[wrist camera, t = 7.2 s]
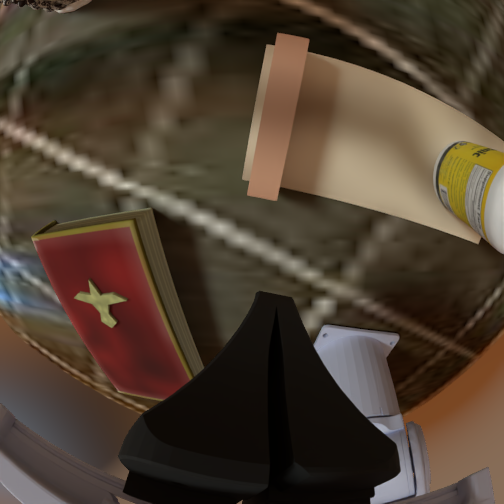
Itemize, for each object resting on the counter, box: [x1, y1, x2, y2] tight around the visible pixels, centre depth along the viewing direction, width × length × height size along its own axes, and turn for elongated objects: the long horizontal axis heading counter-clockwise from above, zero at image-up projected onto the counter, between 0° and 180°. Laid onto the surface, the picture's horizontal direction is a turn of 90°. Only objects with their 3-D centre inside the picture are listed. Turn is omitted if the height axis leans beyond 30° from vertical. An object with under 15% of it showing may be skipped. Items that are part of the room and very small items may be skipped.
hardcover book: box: [31, 208, 204, 401], centre depth 23 cm, size 12×21×4 cm, turn 7°
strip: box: [242, 33, 504, 244], centre depth 14 cm, size 9×20×3 cm, turn 80°
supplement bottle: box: [433, 141, 504, 254], centre depth 11 cm, size 5×5×10 cm
